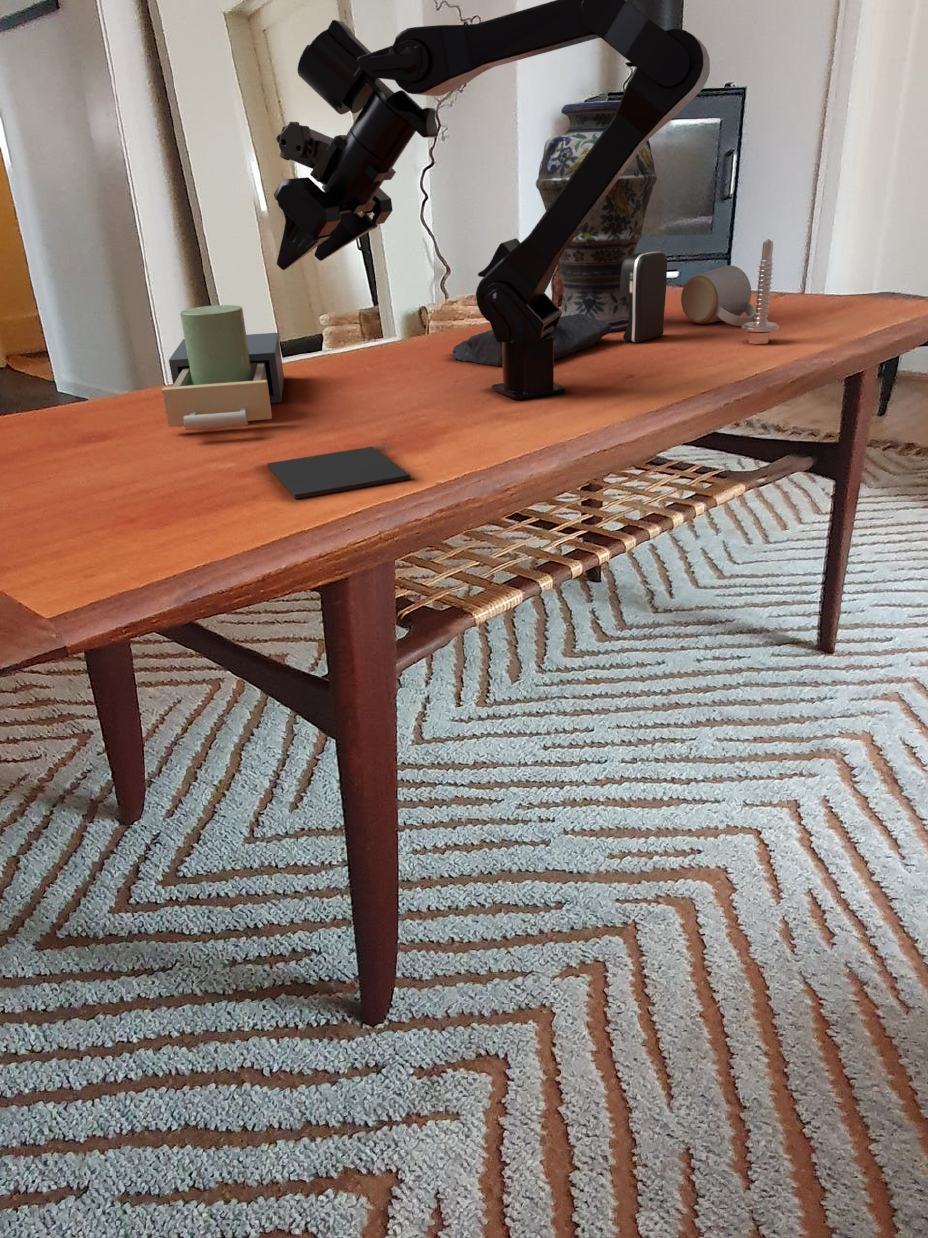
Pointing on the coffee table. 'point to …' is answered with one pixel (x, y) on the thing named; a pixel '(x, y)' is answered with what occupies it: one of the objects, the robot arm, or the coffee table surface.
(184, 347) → the cabinet
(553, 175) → the vase
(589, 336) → the dark slate chunk
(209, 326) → the can
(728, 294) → the ceramic mug
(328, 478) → the coaster
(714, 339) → the coffee table surface
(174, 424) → the drawer
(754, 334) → the screw
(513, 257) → the robot arm
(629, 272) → the battery charger
